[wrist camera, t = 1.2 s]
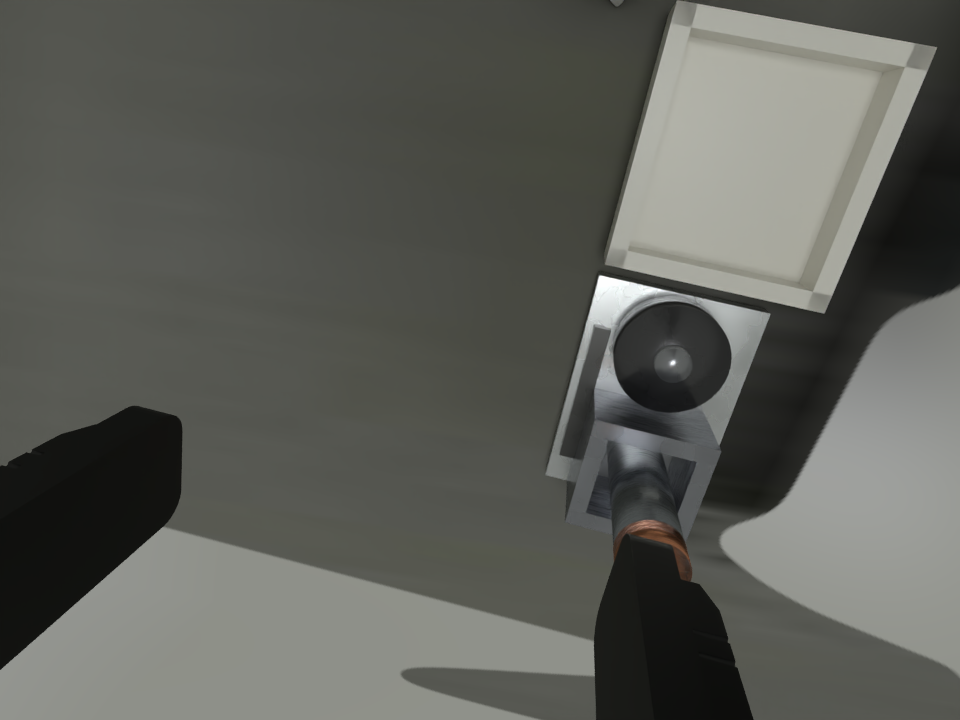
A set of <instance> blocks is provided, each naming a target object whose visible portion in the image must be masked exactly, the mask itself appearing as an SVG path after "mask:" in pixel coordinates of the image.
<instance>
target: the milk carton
mask: <svg viewBox="0 0 960 720" xmlns="http://www.w3.org/2000/svg"><path fill="white" fill-rule="evenodd" d="M610 1H611V2H612V3H613V4H614V5H615V6H616V7H618V6H619V5H620V4H621V3H622V2H623V1H624V0H610Z"/></svg>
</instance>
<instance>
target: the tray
mask: <svg viewBox="0 0 960 720" xmlns="http://www.w3.org/2000/svg"><path fill="white" fill-rule="evenodd" d="M936 49H937V47H932V46H927V45H921V44H916V43H910V42H905V41H899V40H894V39H888V38H883V37H877V36H872V35H866V34H861V33H855V32H850V31H844V30H839V29H833V28H828V27H822V26H817V25H811V24H806V23H800V22H795V21H789V20H784V19H778V18H773V17H767V16H762V15H756V14H751V13H745V12H740V11H734V10H729V9H723V8H718V7H712V6H707V5H701V4H696V3H690V2H685V1H679V0H677V1H676V3H675V4H674V6H673V7H672V9H671V10H670V12H669V14H668V18H667V22H666V25H665V29H664V33H663V37H662V40H661V44H660V48H659V51H658V55H657V59H656V62H655V66H654V70H653V74H652V77H651V81H650V85H649V88H648V92H647V96H646V99H645V103H644V107H643V111H642V114H641V118H640V122H639V125H638V129H637V133H636V137H635V140H634V144H633V148H632V151H631V155H630V159H629V162H628V166H627V170H626V174H625V177H624V181H623V185H622V188H621V192H620V196H619V199H618V203H617V207H616V211H615V214H614V218H613V222H612V225H611V229H610V233H609V236H608V240H607V244H606V248H605V251H604V255H603V256H604V262H605V265H609V266H614V267H618V268H623V269H627V270H632V271H636V272H641V273H645V274H650V275H654V276H659V277H663V278H668V279H672V280H677V281H681V282H685V283H690V284H694V285H699V286H703V287H708V288H712V289H717V290H721V291H726V292H730V293H735V294H739V295H744V296H748V297H753V298H757V299H762V300H766V301H771V302H775V303H780V304H784V305H788V306H793V307H797V308H802V309H806V310H811V311H815V312H820V313H824V314H825V311H826V309H827V306H828V304H829V302H830V299H831V297H832V295H833V292H834V290H835V288H836V285H837V283H838V281H839V278H840V276H841V273H842V271H843V269H844V266H845V264H846V262H847V259H848V257H849V255H850V252H851V250H852V248H853V245H854V243H855V240H856V238H857V236H858V233H859V231H860V229H861V226H862V224H863V222H864V219H865V217H866V214H867V212H868V210H869V207H870V205H871V203H872V200H873V198H874V196H875V193H876V191H877V189H878V186H879V184H880V181H881V179H882V177H883V174H884V172H885V170H886V167H887V165H888V163H889V160H890V158H891V155H892V153H893V151H894V148H895V146H896V144H897V141H898V139H899V137H900V134H901V132H902V130H903V127H904V125H905V122H906V120H907V118H908V115H909V113H910V111H911V108H912V106H913V104H914V101H915V99H916V96H917V94H918V92H919V89H920V87H921V85H922V82H923V80H924V78H925V75H926V73H927V71H928V68H929V66H930V63H931V61H932V59H933V56H934V54H935V52H936Z"/></svg>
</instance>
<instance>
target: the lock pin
mask: <svg viewBox="0 0 960 720" xmlns="http://www.w3.org/2000/svg"><path fill="white" fill-rule="evenodd" d="M606 449H607V463H608V477H609V491H610V505H611V519H612V533H613V553H614V561H615V558H616V555H617V552H618V549H619V546H620V543H621V541H622V538H623V537H624V535H625V534H626V533H628V534H632V535H636V536H639V537H643V538H647V539H651V540H655V541H659V542H663V543H667V544H670V545H672V547H673V550H674V553H675V557H676V562H677V566H678V570H679V574H680V578H681V579H682V580H686V581H689V582H691V578H692V567H691V563H690V559H689V555H688V551H687V547H686V543H685V541H684V537H683V533H682V529H681V525H680V521H679V517H678V513H677V509H676V505H675V501H674V497H673V494H672V490H671V486H670V482H669V478H668V474H667V470H666V466H665V462H664V458H663V454H662V453H658V452H654V451H650V450H646V449H642V448H638V447H634V446H630V445H626V444H622V443H618V442H614V441H610V440H608V442H607V447H606Z"/></svg>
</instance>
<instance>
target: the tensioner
mask: <svg viewBox="0 0 960 720" xmlns="http://www.w3.org/2000/svg"><path fill="white" fill-rule="evenodd" d="M769 316H770V313H769V312H768V311H767V310H766V309H765V308H760V307H756V306H751V305H747V304H742V303H738V302H733V301H729V300H724V299H720V298H716V297H711V296H707V295H702V294H698V293H693V292H689V291H684V290H680V289H675V288H671V287H667V286H662V285H658V284H653V283H649V282H644V281H640V280H635V279H631V278H627V277H622V276H618V275H613V274H609V273H604V272H600V271H599V274H598V277H597V281H596V285H595V288H594V292H593V296H592V299H591V303H590V307H589V311H588V314H587V318H586V322H585V325H584V329H583V333H582V336H581V340H580V344H579V348H578V351H577V355H576V359H575V362H574V366H573V370H572V374H571V377H570V381H569V385H568V388H567V392H566V396H565V399H564V403H563V407H562V411H561V414H560V418H559V422H558V425H557V429H556V433H555V436H554V440H553V444H552V448H551V451H550V455H549V459H548V462H547V466H546V474H545V475H548V476H552V477H556V478H560V479H563V480H567V494H566V512H565V522H566V523H569V524H573V525H577V526H581V527H585V528H588V529H592V530H596V531H600V532H604V533H607V534H611V535H613V533H612V519H611V505H610V491H609V477H608V463H607V449H606V447H607V442H608V440H610V441H614V442H618V443H622V444H626V445H630V446H634V447H638V448H642V449H646V450H650V451H654V452H658V453H662V454H663V458H664V462H665V466H666V470H667V474H668V478H669V482H670V486H671V490H672V494H673V497H674V501H675V505H676V509H677V513H678V517H679V521H680V525H681V529H682V533H683V537H684V541H685V543H686V540H687V538H688V535H689V533H690V530H691V527H692V525H693V522H694V520H695V517H696V515H697V512H698V510H699V507H700V505H701V502H702V499H703V497H704V494H705V492H706V489H707V487H708V484H709V482H710V479H711V476H712V474H713V471H714V469H715V466H716V464H717V461H718V459H719V456H720V453H721V449H720V447H719V445H720V443H721V440H722V437H723V435H724V432H725V430H726V427H727V425H728V422H729V419H730V417H731V414H732V412H733V409H734V407H735V404H736V401H737V399H738V396H739V394H740V391H741V389H742V386H743V383H744V381H745V378H746V376H747V373H748V370H749V368H750V365H751V363H752V360H753V358H754V355H755V352H756V350H757V347H758V345H759V342H760V340H761V337H762V334H763V332H764V329H765V327H766V324H767V322H768V319H769Z"/></svg>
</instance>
